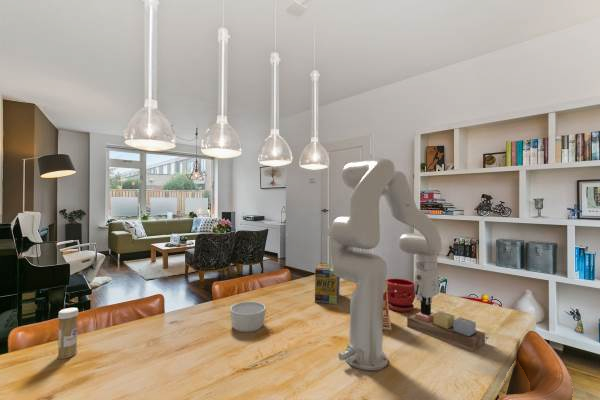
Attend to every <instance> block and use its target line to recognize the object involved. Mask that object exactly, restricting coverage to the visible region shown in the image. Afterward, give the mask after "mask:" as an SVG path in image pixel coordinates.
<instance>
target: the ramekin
mask: <svg viewBox="0 0 600 400" xmlns="http://www.w3.org/2000/svg"><path fill="white" fill-rule="evenodd" d="M266 311H267V307H266V305H265V304H263V303H261V302H258V301H240V302H237V303H235V304H232V305H231V306H230V308H229V313H230V320H231V325H232V328H233V329H234V330H236V331H237V332H243V333H249V332H251V333H252V332H255V331H257V330H259V329H261V327H263V325H264V322H265V316H266Z"/></svg>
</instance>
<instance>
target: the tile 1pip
mask: <svg viewBox="0 0 600 400" xmlns="http://www.w3.org/2000/svg"><path fill="white" fill-rule="evenodd" d="M476 324H477V322H476V321H472V320H470V319H466V318H464V317H460V316H459V317H458V318H457V319H454V321H453V331H455V332H458V333H461V334H463V335H466V336H471V335H472V334H474V333H476V330H477V329H476V328H477V327H476Z"/></svg>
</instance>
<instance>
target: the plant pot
mask: <svg viewBox="0 0 600 400" xmlns="http://www.w3.org/2000/svg"><path fill="white" fill-rule="evenodd" d="M386 281H387V294H388V308H389V309H391V310H394V311H396V312H401V313H402V312H410V311H412V310H413V309H414V308H415V306H414V304H413V303H414V301H415V298H416V295H415V292H414V283H415V281H413V280H409V279H403V278H386Z"/></svg>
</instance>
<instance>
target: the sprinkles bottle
mask: <svg viewBox="0 0 600 400" xmlns="http://www.w3.org/2000/svg"><path fill="white" fill-rule="evenodd" d="M78 315H79V309H78V307H68V308H63V309H60V311H58V317H57V318H58V333H57V334H58V336H57V337H58V338H57V342H58V343H57V345H58V346H57V347H58V353H57V358H58V359H63V360H64V359H68V358H72V357H74V356H75V355H76V354H77V353H78V350H77V346H78V345H77V344H78Z"/></svg>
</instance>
